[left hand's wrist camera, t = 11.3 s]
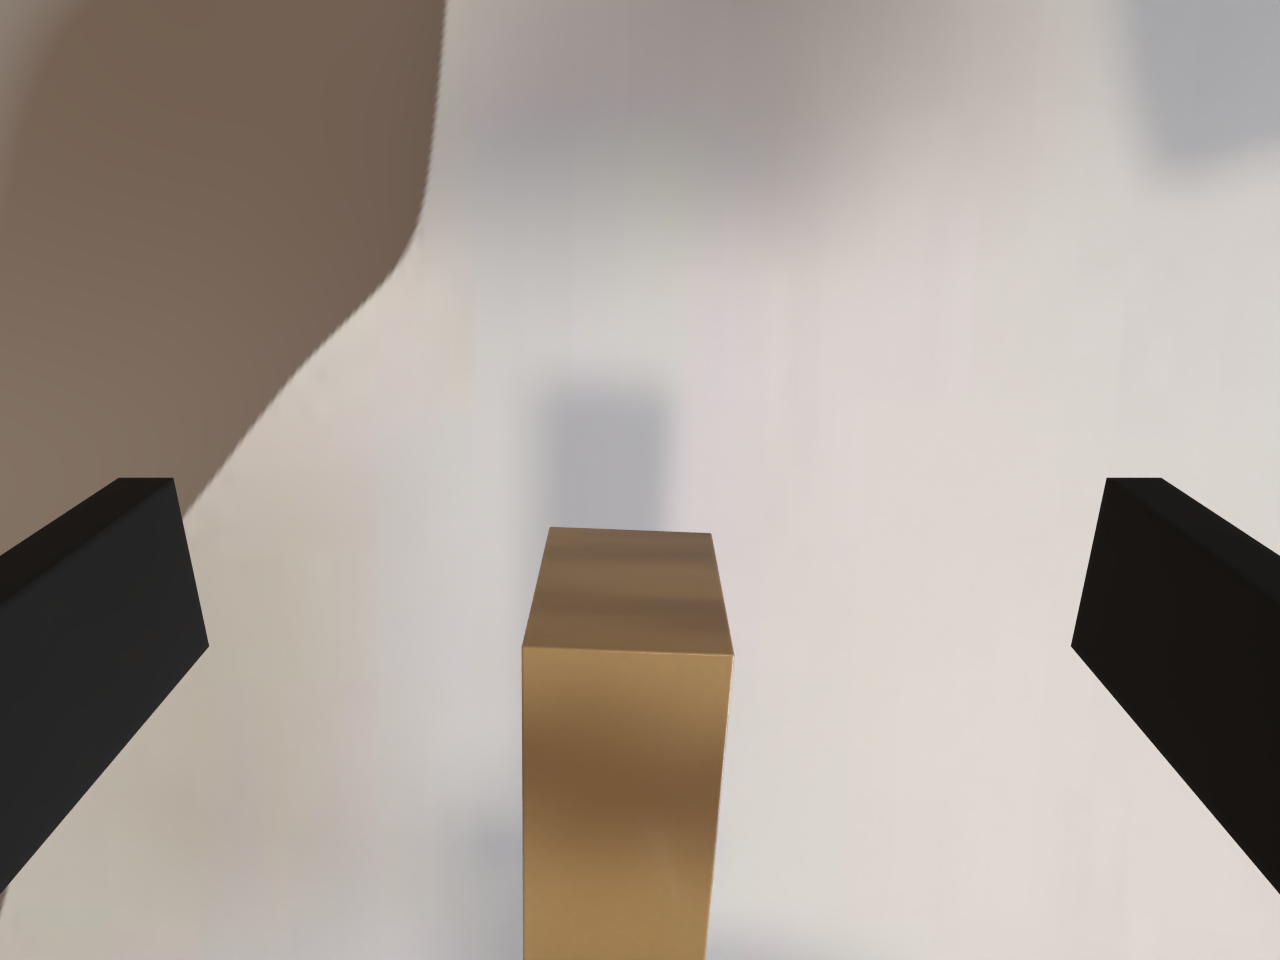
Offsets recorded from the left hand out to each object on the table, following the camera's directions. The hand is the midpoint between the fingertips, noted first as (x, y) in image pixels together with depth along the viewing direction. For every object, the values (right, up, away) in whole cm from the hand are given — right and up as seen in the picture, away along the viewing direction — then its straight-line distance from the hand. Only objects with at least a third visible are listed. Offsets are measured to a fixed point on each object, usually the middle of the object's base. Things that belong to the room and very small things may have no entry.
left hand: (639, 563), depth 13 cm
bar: (-1, -14, +23) cm, 27 cm away
